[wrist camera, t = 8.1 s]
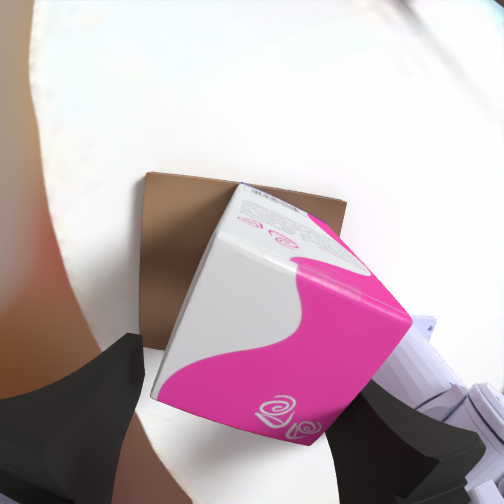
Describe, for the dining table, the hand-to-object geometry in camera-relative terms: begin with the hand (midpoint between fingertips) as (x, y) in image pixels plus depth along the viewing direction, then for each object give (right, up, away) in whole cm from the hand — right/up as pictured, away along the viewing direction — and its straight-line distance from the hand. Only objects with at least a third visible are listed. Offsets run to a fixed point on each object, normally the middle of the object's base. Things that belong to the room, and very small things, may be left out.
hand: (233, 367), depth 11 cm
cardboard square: (-1, +3, +10) cm, 10 cm away
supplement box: (+1, +5, +7) cm, 9 cm away
